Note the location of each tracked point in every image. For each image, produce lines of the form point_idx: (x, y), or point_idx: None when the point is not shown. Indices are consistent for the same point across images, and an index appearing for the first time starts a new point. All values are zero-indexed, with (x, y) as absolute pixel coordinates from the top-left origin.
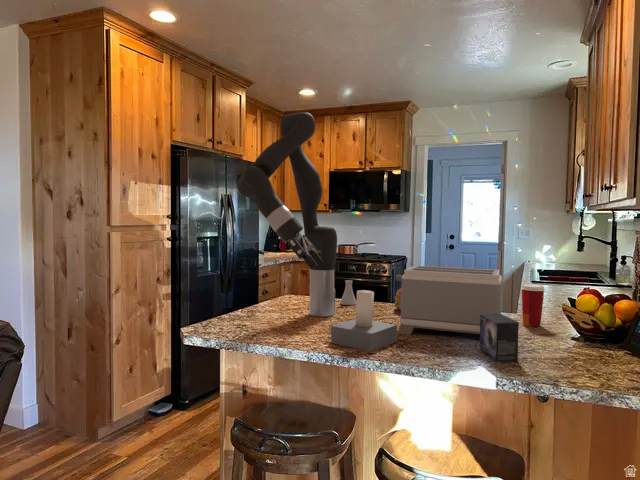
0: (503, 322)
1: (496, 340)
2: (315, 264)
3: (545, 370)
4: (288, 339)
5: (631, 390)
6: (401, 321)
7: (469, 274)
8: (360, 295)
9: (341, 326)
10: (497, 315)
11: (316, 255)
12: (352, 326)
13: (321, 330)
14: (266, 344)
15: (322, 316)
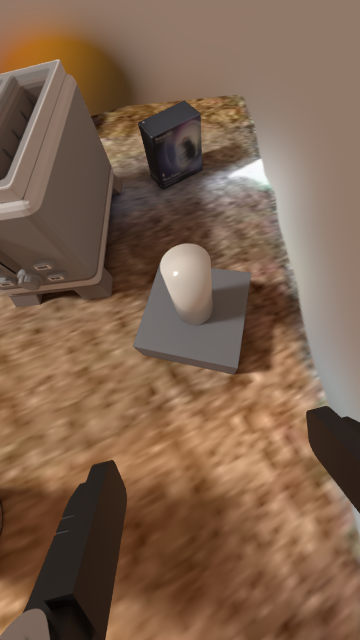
0: (194, 109)
1: (200, 142)
2: (331, 413)
3: (208, 137)
4: (264, 484)
5: (229, 96)
6: (98, 280)
7: (50, 88)
8: (210, 272)
9: (229, 345)
10: (152, 121)
11: (93, 546)
12: (216, 324)
13: (145, 442)
14: (343, 519)
15: (1, 510)
